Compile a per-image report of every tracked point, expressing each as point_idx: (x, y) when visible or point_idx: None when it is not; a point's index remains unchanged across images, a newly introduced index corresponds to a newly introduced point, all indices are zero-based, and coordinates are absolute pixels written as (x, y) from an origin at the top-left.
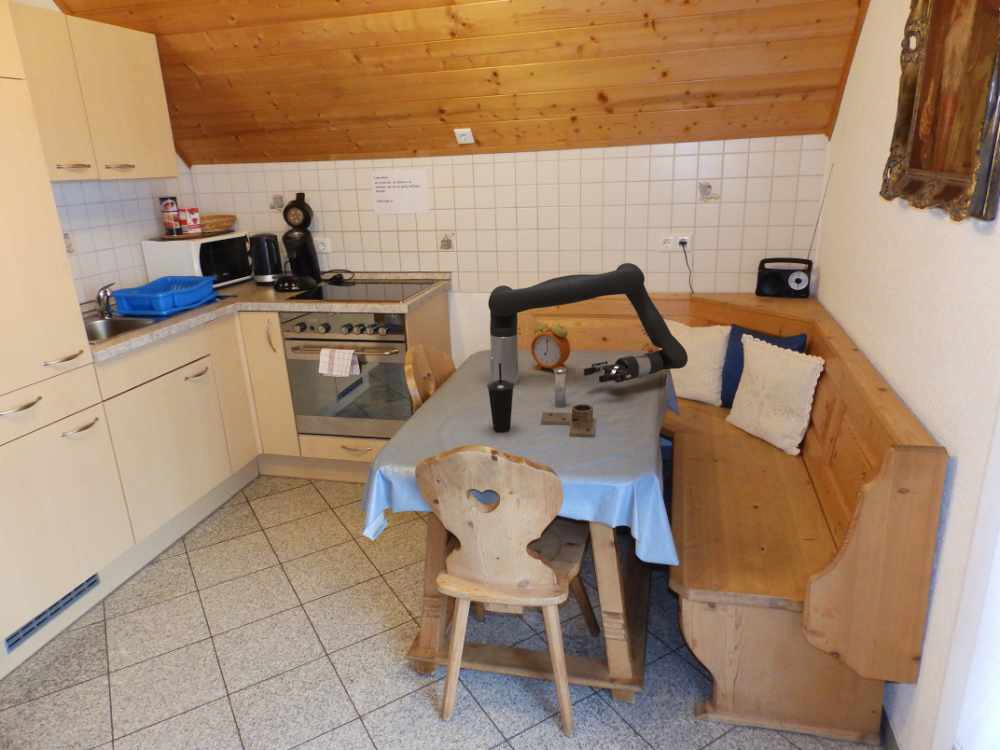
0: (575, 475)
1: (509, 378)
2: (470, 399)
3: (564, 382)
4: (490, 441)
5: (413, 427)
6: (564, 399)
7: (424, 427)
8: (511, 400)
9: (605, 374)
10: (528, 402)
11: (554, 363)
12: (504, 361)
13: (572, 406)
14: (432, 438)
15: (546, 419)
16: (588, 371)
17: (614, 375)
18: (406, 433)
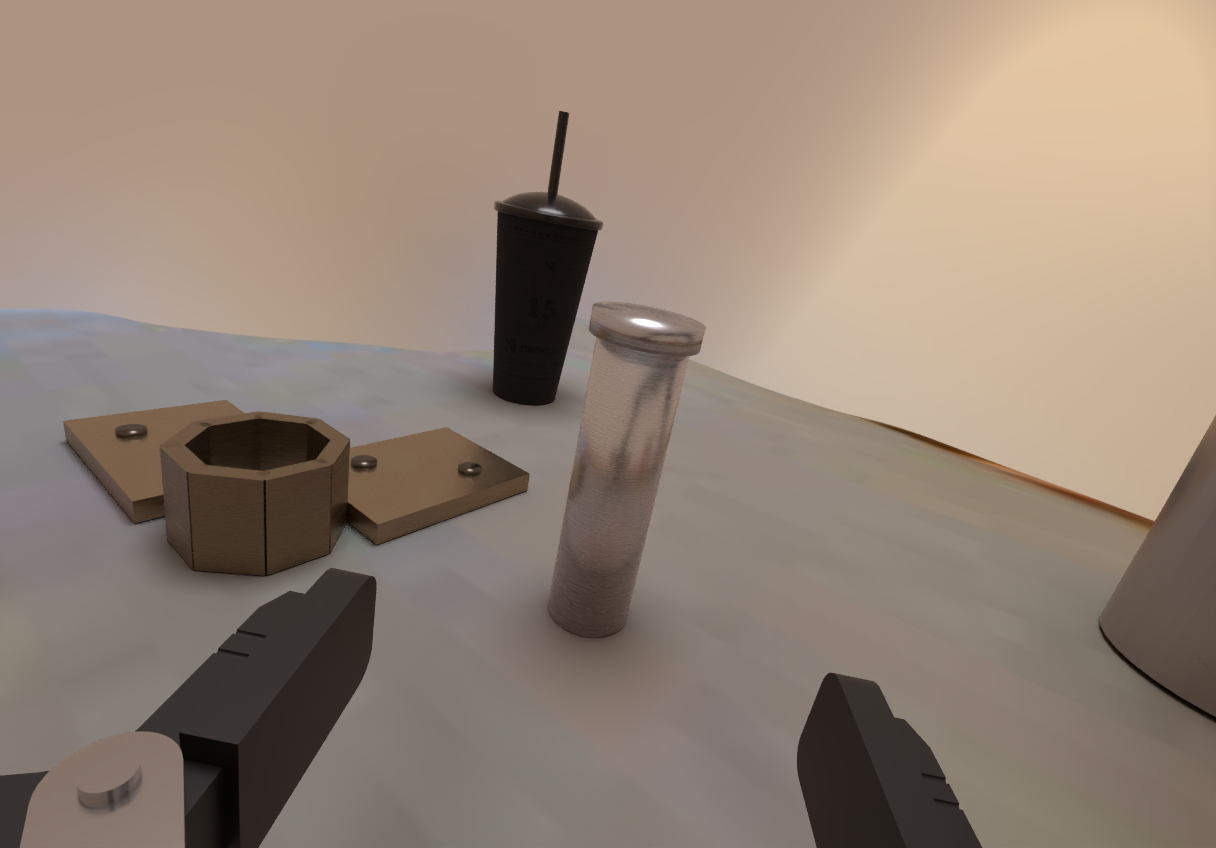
0: (55, 312)
1: (1139, 602)
2: (881, 477)
3: (583, 424)
4: (473, 359)
5: (693, 363)
6: (559, 561)
7: None
8: (501, 269)
9: (291, 661)
10: (748, 552)
11: None
12: (1191, 470)
13: (346, 437)
14: None
15: (439, 440)
16: (836, 773)
17: (10, 845)
18: None
